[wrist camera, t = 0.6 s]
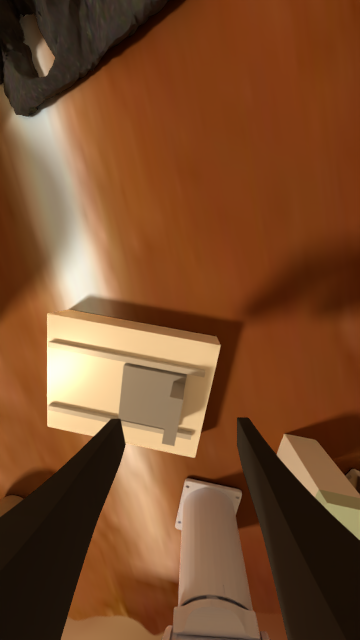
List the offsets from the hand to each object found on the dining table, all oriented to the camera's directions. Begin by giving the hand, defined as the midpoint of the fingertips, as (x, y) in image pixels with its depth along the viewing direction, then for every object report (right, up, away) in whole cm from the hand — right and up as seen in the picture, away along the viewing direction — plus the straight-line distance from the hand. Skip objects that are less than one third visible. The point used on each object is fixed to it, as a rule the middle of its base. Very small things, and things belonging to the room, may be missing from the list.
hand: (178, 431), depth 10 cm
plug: (+15, -10, +11) cm, 21 cm away
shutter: (-3, -1, +8) cm, 9 cm away
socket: (-5, 0, +11) cm, 12 cm away
